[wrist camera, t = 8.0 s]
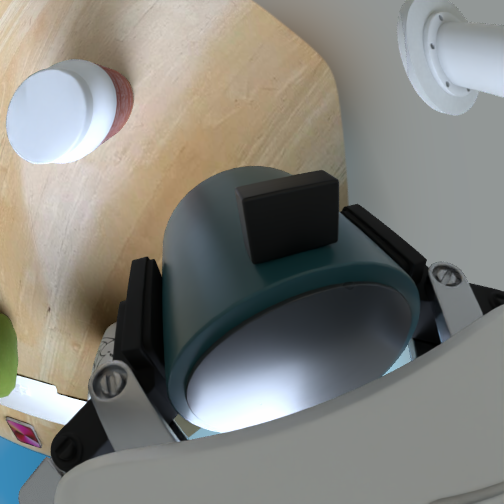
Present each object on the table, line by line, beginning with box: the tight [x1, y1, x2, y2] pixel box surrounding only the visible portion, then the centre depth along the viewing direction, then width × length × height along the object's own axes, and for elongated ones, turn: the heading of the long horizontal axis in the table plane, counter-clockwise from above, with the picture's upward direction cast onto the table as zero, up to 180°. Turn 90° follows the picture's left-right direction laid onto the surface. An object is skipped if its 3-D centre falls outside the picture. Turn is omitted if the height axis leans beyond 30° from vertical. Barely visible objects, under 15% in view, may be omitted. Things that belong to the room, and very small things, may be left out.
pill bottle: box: [6, 59, 134, 164], centre depth 13 cm, size 6×6×11 cm
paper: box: [0, 375, 86, 425], centre depth 33 cm, size 25×17×1 cm
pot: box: [162, 166, 420, 433], centre depth 9 cm, size 7×9×6 cm
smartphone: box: [6, 417, 42, 448], centre depth 38 cm, size 7×1×15 cm
